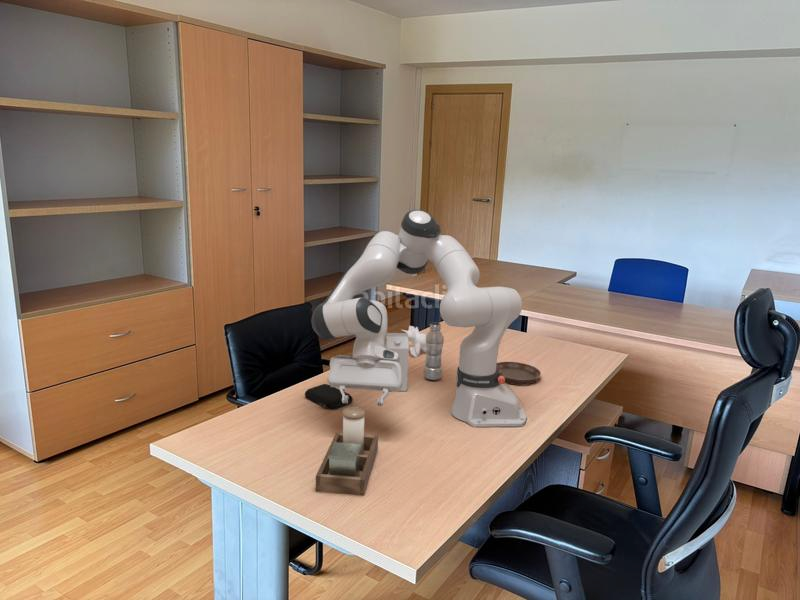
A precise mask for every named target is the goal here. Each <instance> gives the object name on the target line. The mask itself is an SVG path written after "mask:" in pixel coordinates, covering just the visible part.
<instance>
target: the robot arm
mask: <svg viewBox="0 0 800 600" xmlns="http://www.w3.org/2000/svg"><path fill="white" fill-rule="evenodd" d="M441 229H442V228H441V226H440V225H439V224H438V223H437V221H436V219H435V218H434V217H433V216H432V215H431V214H430V213H429V212H427V211H426V210H423V209H422V210H421V209H413V210H409V211H408V212H406V213H405V214H404V216H403V218H402V219H401V226H400V229H399V233H398V234H395V233H394V232H391V231H388V230H382V231H379V232H377V233H376V234H375V235H374V236H373V237H372V239H370V241H369V242H368V244H367V245H366V247H365V249H364V251H363V253H362V254H361V256H360V257H359V258H358V260H357V261H356V262H355V263H354V264H353V265H352V266H351V267H350V268H349V269H348V270H347V271H346V272H345V273H344V274H343V275H342V276H341V277H340V278H339V280H338V282H337V283H336V284H335V285H334V287H333V289H332V290H331V291H330V293H329V294H328V295H327V297H326V299H325V300H324V301H323V302H322V303H319V304H318V305H317V306H316V307H315V308H314V310H313V312H312V315H311V321H310V322H311V326H312V329H313V332H314V333H315V334H316V335H317V336H319V337H320V338H321V339H322V340H325V341H329V340H333V339H336V338H341V337H347V336H353V335H354V336H355V340H354V343H353V349H352V355H351V354H340V353H339V354H335V355H334V356H332V357H331V358H330V361H329V368H330V369H329V372H328V373H327V374H328V375H327V384H328V385H330V386H331V387H335V388H337V389H339V390H340V392H341V394H342V403H346V404H347V405H349V404H348V399H349V397H348V395H345V394H344V392H346V390H347V389H352V390H353V389H354V390H366V391H367V390H369V391H382V393H383V394H382V395H381V396H380V397H377V403H376V404H377V406H378V407H384V401H385V400H386V398H387V397H388V396H389V392H395V393H396V392H398V393H400V392H401V391H400V390H401V389H402V371H401V366H400V358H399V355H398V353H396V352H394V351H391V350H388V349H386V348H385V341H386V335H387V333H388V311H387V308H386V306H385V305H384V304H383V303H382V302H380V301H378V300H373V299H370V300H369V299H368V298H365V297H357V298H354V297H355V296H357V295H358V294H360V293H362V292H364V291H367V290H370V289H373V288H376V287H380V286H382V285H384V284H386V283H388V282H389V281H390V279H391V278H392V277H393V276H394V274H395V272H396V270H399V271H401V272H403V273H404V274H407V275H416V274H420V273H422V272H423V271H424V270H425V268H426V267H427V264H428V263H429V262H428V261H430V262H431V263H432V264H433V266H434V267H435V269H436V271H437V273H438V275H439V276H440V278H441V279H442V281H443V283H444V285H445V288H446V291H447V292H446V293H445V294H444V295H443V297H442V298H441V300H440V304H439V314H440V317H441V319H442V320H443V321H444V323H445V325H447V326H449V327H455V328H457V327H458V328H464V329H465V328H471V327H472V328H473V330H472V332H471V333H469V334H468V335H467V336H465V338H463V339H462V341H461V343H460V346H459V359H458V361H459V362H458V367H457V370H456V375H455V376H456V378H455V379H456V380H455V382H456V383H455V384H456V391H455V396H454V400H453V403H452V406H451V408H450V413H451V415H452V416H453V417H455V418H456V419H458V420H460V421H463V422H465V423H467V424H468V425H470V426H471V427H475V428H476V427H477V428H481V427H482V428H483V427H484V428H485V427H486V428H487V427H490V428H491V427H523V426H525V424H526V422H527V413H526V410H525V409H524V408H523V407H522V406H520V401H519V398H518V396H517V394H516V392H515V391H514V390H512V389H511V388H510V387H509V386H507V385H506V383H505V378H504V377H503V374H502V373H501V371H500V370H499V371H498V370H497V369H496V365H497V363H498V356H499V348H500V344H501V343H502V342H501V341H502V339H503V337H504V335H505V333H506V331H507V330H508V328H509V327H510V325H511V324H512V323H513V322H514V321H515V320H516V319H518V318H519V316H520V314H521V313H522V310H523V300H522V297H521V295H520V294H519V292H518V291H517V290H516V289H514V288H511V287H506V286H489V287H487V286H486V287H478V286H476V285H478V283H479V280H480V275H481V274H480V269H479V267H478V266H477V264H476V262H475V261H474V260H473V258H472V257H471V256H470V254H469V252H468V251H467V250H466V249H465V247H464V246H463V245H462V244H461V243H460V242H459V241H458V240H457V239H456V238H454V237H453V236H451V235H446V234H445V235H443V234H441V233H442V230H441ZM343 391H344V392H343Z"/></svg>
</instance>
